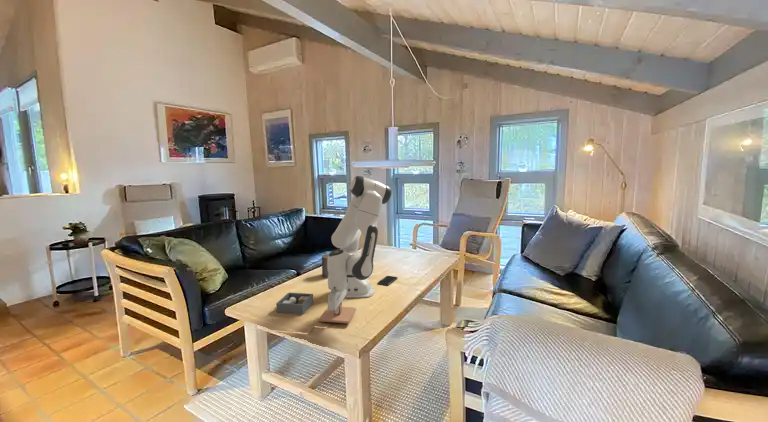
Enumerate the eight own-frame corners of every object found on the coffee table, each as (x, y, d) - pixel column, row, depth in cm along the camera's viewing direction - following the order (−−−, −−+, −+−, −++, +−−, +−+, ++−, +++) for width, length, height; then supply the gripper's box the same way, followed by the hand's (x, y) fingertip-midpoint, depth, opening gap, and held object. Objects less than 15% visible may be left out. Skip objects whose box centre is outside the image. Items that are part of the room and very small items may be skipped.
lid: (356, 309, 168) (356, 300, 168) (348, 323, 154) (348, 313, 153) (328, 307, 171) (328, 298, 170) (318, 321, 156) (318, 311, 156)
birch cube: (309, 303, 178) (308, 296, 177) (306, 307, 174) (305, 299, 173) (302, 303, 179) (301, 296, 178) (298, 306, 175) (298, 299, 174)
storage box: (313, 303, 179) (313, 293, 179) (303, 315, 166) (302, 305, 165) (289, 302, 182) (288, 292, 181) (276, 313, 168) (276, 303, 167)
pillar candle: (319, 274, 225) (319, 253, 222) (333, 271, 230) (332, 250, 228) (326, 279, 217) (325, 256, 214) (339, 275, 222) (339, 254, 220)
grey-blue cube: (292, 308, 173) (292, 300, 172) (289, 311, 169) (288, 304, 168) (285, 307, 173) (284, 300, 173) (281, 311, 169) (281, 303, 169)
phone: (398, 277, 216) (388, 284, 203) (398, 278, 217) (388, 286, 203) (387, 275, 220) (376, 282, 207) (387, 277, 220) (376, 284, 207)
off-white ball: (297, 303, 179) (297, 295, 178) (294, 306, 175) (294, 299, 174) (290, 302, 180) (290, 295, 179) (287, 305, 176) (287, 298, 175)
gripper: (337, 292, 149) (338, 321, 151) (349, 276, 169) (350, 302, 171) (323, 291, 150) (324, 320, 152) (337, 276, 170) (338, 302, 172)
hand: (338, 311), depth 162 cm, fingers closed on lid, 3 cm apart
